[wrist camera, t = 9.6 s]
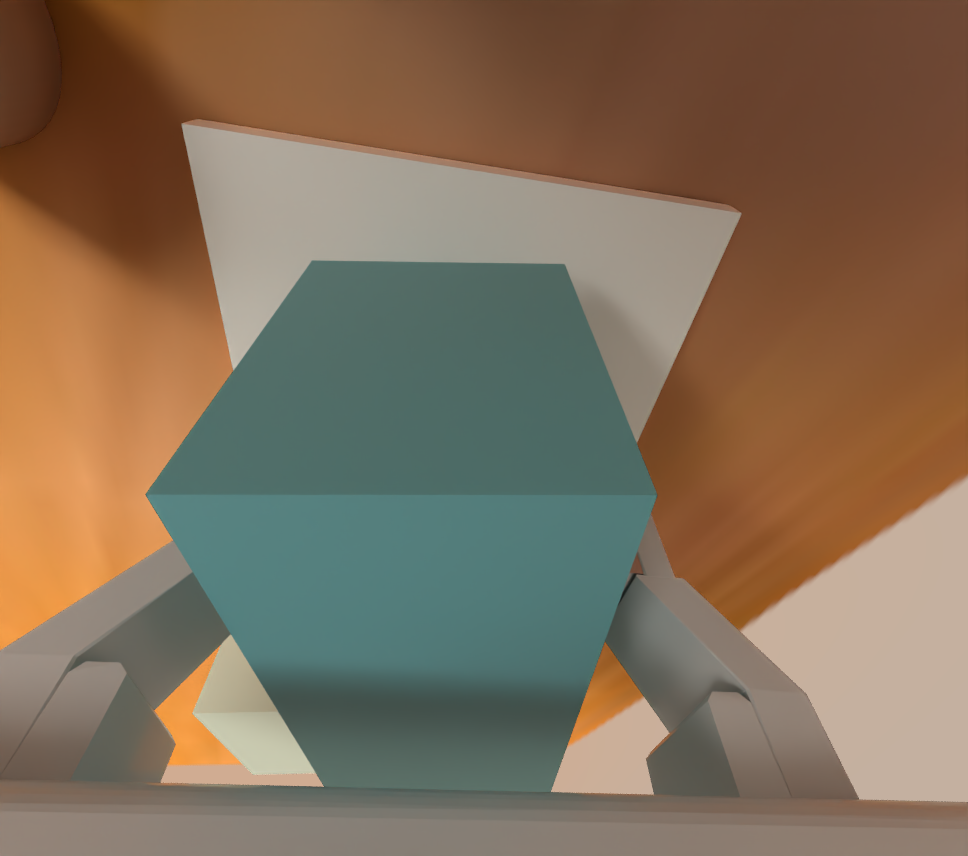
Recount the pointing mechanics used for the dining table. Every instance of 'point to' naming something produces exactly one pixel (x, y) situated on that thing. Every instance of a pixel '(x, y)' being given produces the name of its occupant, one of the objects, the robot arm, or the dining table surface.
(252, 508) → the teal brick
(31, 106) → the walnut cylinder
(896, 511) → the dining table surface
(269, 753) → the sage cube
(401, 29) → the dining table surface
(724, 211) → the coaster
